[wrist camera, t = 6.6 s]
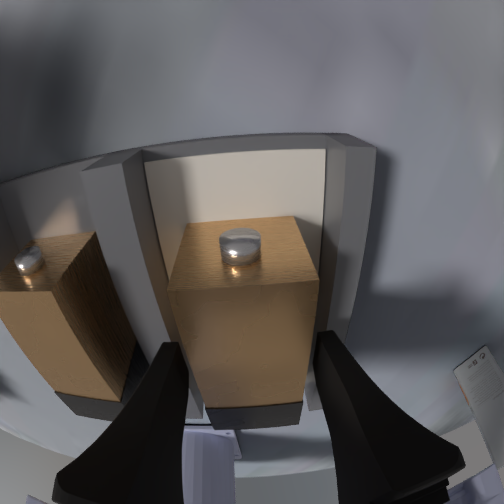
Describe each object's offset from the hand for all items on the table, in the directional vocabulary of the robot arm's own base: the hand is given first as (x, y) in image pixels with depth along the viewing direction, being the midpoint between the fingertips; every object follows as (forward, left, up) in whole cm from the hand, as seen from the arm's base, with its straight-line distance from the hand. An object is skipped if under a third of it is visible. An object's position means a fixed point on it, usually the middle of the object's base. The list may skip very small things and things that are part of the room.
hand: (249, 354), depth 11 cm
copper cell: (0, 0, -3) cm, 3 cm away
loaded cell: (0, +8, -3) cm, 8 cm away
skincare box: (-13, -22, -4) cm, 26 cm away
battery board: (0, +4, -3) cm, 5 cm away
